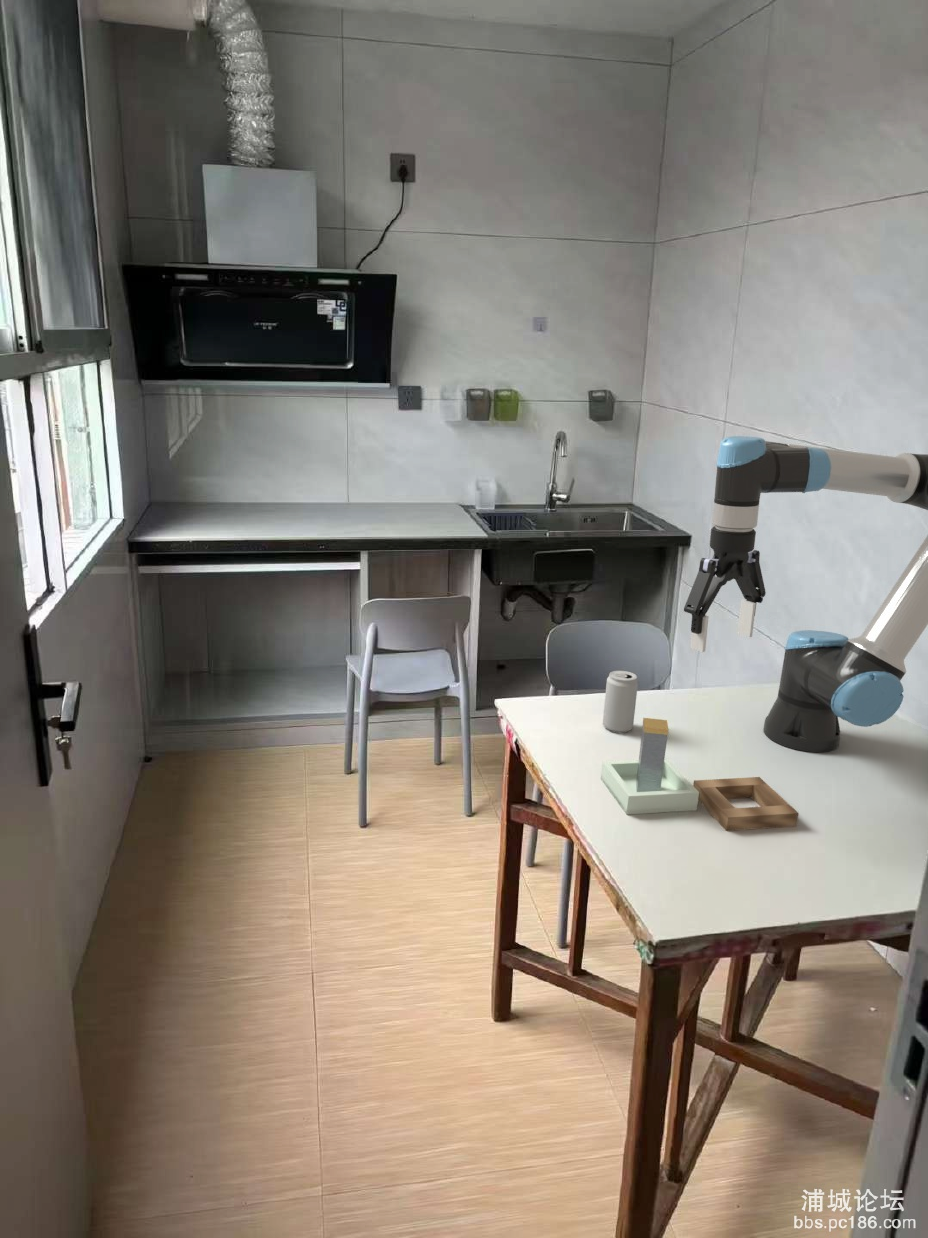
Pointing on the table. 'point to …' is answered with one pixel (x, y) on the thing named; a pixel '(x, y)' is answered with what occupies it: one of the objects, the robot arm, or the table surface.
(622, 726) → the beverage can
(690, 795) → the bin
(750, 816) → the socket block
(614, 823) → the table surface
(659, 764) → the strut
